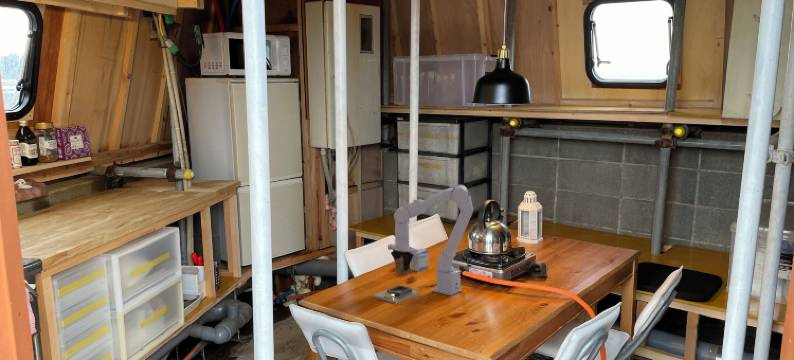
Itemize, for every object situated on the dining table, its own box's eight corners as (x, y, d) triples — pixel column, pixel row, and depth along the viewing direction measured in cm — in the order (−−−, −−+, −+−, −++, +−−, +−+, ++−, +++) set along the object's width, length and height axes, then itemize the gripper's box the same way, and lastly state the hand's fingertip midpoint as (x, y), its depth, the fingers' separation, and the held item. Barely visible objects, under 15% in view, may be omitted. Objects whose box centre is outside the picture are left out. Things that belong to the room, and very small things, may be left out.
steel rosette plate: (418, 294, 248) (418, 288, 247) (396, 303, 237) (396, 298, 237) (396, 288, 255) (396, 283, 255) (373, 297, 245) (373, 291, 245)
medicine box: (418, 272, 278) (418, 253, 277) (410, 270, 281) (410, 252, 280) (428, 267, 284) (428, 249, 283) (420, 266, 287) (420, 248, 286)
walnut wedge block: (410, 272, 253) (409, 258, 252) (402, 275, 250) (402, 260, 249) (403, 270, 256) (403, 256, 255) (395, 273, 252) (395, 259, 251)
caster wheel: (527, 276, 277) (549, 274, 274) (525, 278, 266) (548, 276, 264) (525, 261, 278) (547, 259, 275) (523, 263, 267) (546, 261, 264)
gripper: (382, 236, 252) (383, 267, 254) (409, 241, 243) (409, 274, 245) (394, 232, 257) (394, 264, 259) (420, 237, 248) (421, 270, 250)
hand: (402, 268), depth 252 cm, fingers closed on walnut wedge block, 4 cm apart
